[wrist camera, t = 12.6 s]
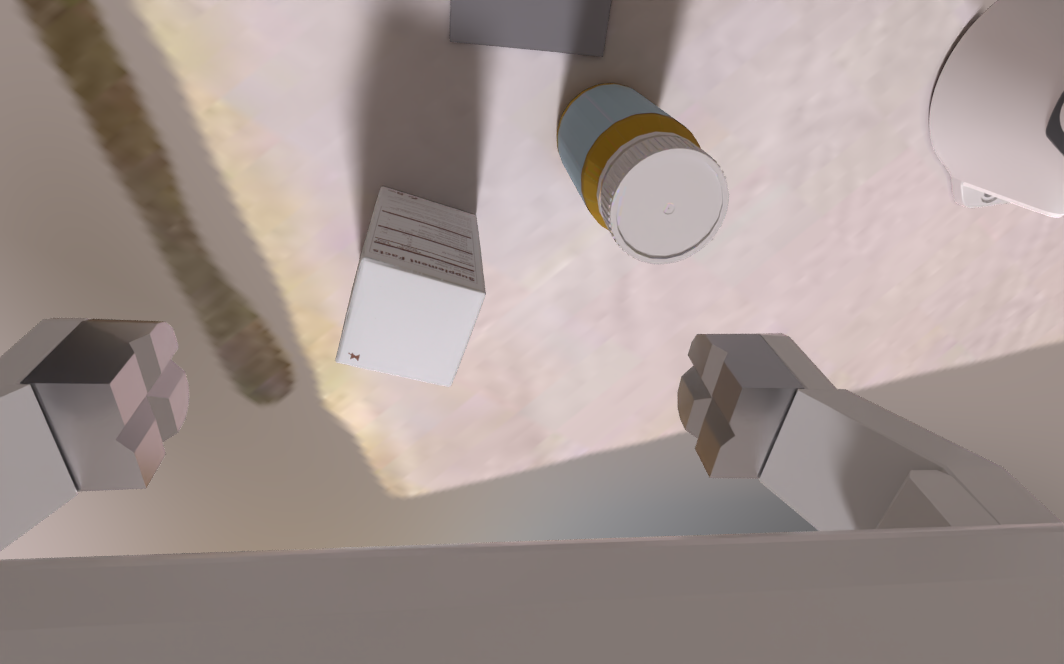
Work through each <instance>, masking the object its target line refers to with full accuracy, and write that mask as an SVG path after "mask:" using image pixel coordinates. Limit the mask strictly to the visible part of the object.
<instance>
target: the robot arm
mask: <svg viewBox="0 0 1064 664" xmlns="http://www.w3.org/2000/svg"><path fill="white" fill-rule="evenodd" d="M929 131H930V138H931V142H932V146H933V148H934V151H935V153H936V155H937V157H938V158H939V160H940V161H941V162H942V164H943V165H944V166H945V167H946V169H947V170H948V172H949V174H950V176H951V185H952V194H953V198H954V201H955V202H956V203H957V204H958V205H961V206H964V207H967V208H979V207H986V206H993V205H1000V204H1007V203H1013V204H1016V205H1018V206H1021V207H1024V208H1026V209H1029V210H1032V211H1035V212H1038V213H1040V214H1043V215H1046V216H1050V217H1055V218H1060V217H1062V216H1063V215H1064V0H997V1H996V2H995V3H994V4H993V5H991V6H990V7H989V8H988V9H987V10H986V11H985V12H984V13H983V14H982V15H981V16H980V17H979V18H978V19H977V20H976V21H975V22H974V23H973V25H972V26H971V27H970V28H969V29H968V30H967V32H966V33H965V34H964V36H963V37H962V38H961V40H960V41H959V42H958V44H957V45H956V47H955V48H954V50H953V52H952V53H951V55H950V57H949V58H948V60H947V62H946V64H945V66H944V68H943V70H942V72H941V74H940V77H939V79H938V82H937V85H936V87H935V90H934V94H933V98H932V102H931V108H930V116H929ZM178 348H179V346H178V343H177V339H176V336H175V333H174V329H173V328H172V327H171V326H170V325H169V324H168V323H167V322H163V321H138V320H137V321H136V320H113V319H87V318H50V319H43V320H42V321H40V322H39V323H38V324H37V325H36V326H35V327H34V328H33V329H32V330H30V331H29V332H28V333H27V334H26V335H25V336H24V337H22V338H21V339H20V340H19V341H18V342H17V343H16V344H14V346H12V347H11V348H10V349H9V350H8V351H7V352H5V353H4V354H3V355H2V356H1V357H0V551H2V550H3V549H4V548H6V547H7V546H8V545H10V544H11V543H12V542H14V541H15V540H17V539H18V538H19V537H21V536H22V535H23V534H25V533H26V532H28V531H29V530H30V529H32V528H33V527H34V526H36V525H37V524H38V523H40V522H41V521H43V520H44V519H45V518H47V517H48V516H49V515H51V514H52V513H54V512H55V511H56V510H58V509H59V508H60V507H62V506H63V505H64V504H66V503H67V502H69V501H70V500H71V499H73V498H74V497H75V496H77V495H78V493H77V491H99V490H123V489H143V488H144V489H146V488H147V486H148V485H149V483H150V481H151V479H152V478H153V476H154V474H155V473H156V471H157V469H158V467H159V466H160V464H161V462H162V460H163V459H164V457H165V455H166V452H165V449H164V445H163V442H164V441H165V440H167V439H168V438H170V437H172V436H173V435H175V434H177V433H178V432H179V430H180V428H181V426H182V425H183V423H184V421H185V419H186V414H187V409H188V404H189V385H188V381H187V376H186V372H185V371H184V370H183V369H182V368H181V367H179V366H178V365H177V364H176V363H175V362H174V361H172V360H171V358H172V357H173V355H174V353H175V352H176V351H177V349H178ZM688 356H689V358H690V360H691V362H692V364H693V367H691V368H690V369H689V370H688V371H687V372H686V373H685V374H684V375H683V376H682V377H681V381H680V385H679V389H678V412H679V416H680V420H681V422H682V424H683V426H684V428H685V430H686V431H688V432H689V433H691V434H692V435H694V436H695V437H696V438H698V440H697V443H696V446H695V450H696V452H697V454H698V456H699V458H700V460H701V462H702V464H703V466H704V468H705V470H706V472H707V474H708V475H709V477H710V478H760V479H759V481H760V482H761V483H762V484H763V485H765V486H766V487H767V488H768V489H769V490H771V491H772V492H773V493H774V494H775V495H777V496H778V497H779V498H781V500H783V501H784V502H785V503H786V504H788V505H789V506H790V507H791V508H792V509H793V510H795V511H796V512H797V513H798V514H800V515H801V516H802V517H803V518H804V519H805V520H807V521H808V522H809V523H810V524H812V525H813V526H814V527H815V528H816V529H817V530H819V531H811V532H783V533H752V534H723V535H693V536H665V537H664V536H663V537H635V538H605V539H574V540H547V541H520V542H519V541H517V542H492V543H491V542H490V543H465V544H436V545H408V546H381V547H352V548H327V549H299V550H268V551H240V552H210V553H182V554H154V555H153V554H152V555H123V556H94V557H66V558H36V559H8V560H0V664H1064V522H1062V521H1061V520H1060V519H1059V518H1058V517H1057V516H1056V515H1055V514H1053V513H1052V512H1051V511H1050V510H1049V509H1048V508H1047V507H1046V506H1045V505H1043V503H1042V502H1040V501H1039V500H1038V499H1037V498H1036V497H1035V496H1034V495H1033V494H1032V493H1031V492H1030V491H1028V490H1027V489H1026V488H1025V487H1024V486H1023V485H1022V484H1021V483H1020V482H1019V481H1018V480H1017V479H1016V478H1014V477H1013V476H1012V475H1011V474H1010V473H1009V472H1008V471H1007V470H1006V469H1005V468H1003V467H1002V466H1000V465H998V464H996V463H994V462H992V461H990V460H988V459H986V458H984V457H982V456H980V455H978V454H976V453H973V452H972V451H969V450H968V449H965V448H963V447H961V446H959V445H957V444H955V443H953V442H951V441H949V440H947V439H945V438H943V437H941V436H939V435H937V434H935V433H933V432H931V431H929V430H927V429H925V428H923V427H921V426H919V425H917V424H915V423H913V422H911V421H909V420H907V419H905V418H903V417H901V416H898V415H897V414H895V413H893V412H891V411H889V410H886V409H884V408H882V407H880V406H878V405H876V404H874V403H872V402H870V401H868V400H866V399H864V398H862V397H860V396H858V395H856V394H854V393H852V392H850V391H848V390H846V389H836V387H835V386H834V385H833V384H832V383H831V382H830V381H829V380H828V379H827V377H826V376H825V375H824V374H823V373H822V372H821V371H820V370H819V369H818V368H817V366H816V365H815V364H814V363H813V362H812V361H811V360H810V359H809V358H808V357H807V355H806V354H805V353H804V352H803V351H802V350H801V349H800V348H799V347H798V346H797V344H796V343H795V342H794V341H793V340H792V339H791V338H790V337H789V336H787V335H784V334H782V333H768V334H697V335H696V337H695V338H694V340H693V341H692V343H691V346H690V350H689V353H688Z"/></svg>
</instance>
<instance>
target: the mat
mask: <svg viewBox="0 0 1064 664" xmlns="http://www.w3.org/2000/svg"><path fill="white" fill-rule="evenodd" d="M610 6H611V0H451V14H450V42H459V43H469V44H479V45H489V46H499V47H510V48H520V49H530V50H540V51H550V52H560V53H570V54H581V55H591V56H601V57H603V52H604V46H605V39H606V33H607V26H608V19H609V13H610Z"/></svg>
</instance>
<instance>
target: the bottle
mask: <svg viewBox="0 0 1064 664" xmlns="http://www.w3.org/2000/svg"><path fill="white" fill-rule="evenodd" d="M557 148H558V152H559V155H560V157H561V160H562V163H563V165H564V167H565V168H566V170H567V172H568V174H569V176H570V177H571V179H572V181H573V183H574V185H575V187H576V188H577V190H578V192H579V194H580V196H581V197H582V199H583V201H584V203H585V205H586V207H587V208H588V210H589V211H590V213H591V214H592V216H593V217H594V218H595V219H596V220H597V222H598V223H599V224H600V225H601V226H602V227H604V228H606V229H607V230H609V231H610V233H611V235H612V236H613V238H614V240H615V242H616V243H617V244H618V245H619V247H620V248H622V250H623V251H624V252H626V253H627V254H628V255H630V256H632V257H633V258H635V259H637V260H639V261H642V262H645V263H650V264H669V263H674V262H678V261H681V260H683V259H686V258H688V257H690V256H692V255H693V254H695V253H697V252H698V251H700V250H701V249H702V248H703V247H704V246H706V245H707V244H708V243H709V242H710V241H711V239H712V238H713V237H714V236H715V235H716V233H717V232H718V230H719V228H720V227H721V225H722V223H723V221H724V218H725V215H726V212H727V208H728V201H729V191H728V185H727V181H726V178H725V176H724V174H723V171H722V170H721V169H720V166H719V165H718V164H717V162H716V161H715V160H714V159H712V157H711V156H709V155H708V154H707V153H706V152H704V151H703V150H702V149H701V148H700V145H699V144H698V142H697V140H696V139H695V137H694V136H693V134H692V133H691V132H690V131H689V130H688V129H687V128H686V127H685V126H683V125H682V124H681V123H679V122H678V121H677V120H675V119H674V118H672V117H671V116H670V115H668V114H667V113H665V112H664V111H663V110H661V109H660V108H659V107H657V106H656V105H654V104H653V103H652V102H650V101H649V100H647V99H646V98H645V97H643V96H642V95H640V94H639V93H638V92H636V91H635V90H634V89H631V88H630V87H627V86H624V85H620V84H617V83H606V84H598V85H595V86H593V87H590V88H588V89H586V90H584V91H582V92H581V93H580V94H579V95H577V96H576V97H575V98H574V99H573V100H572V101H571V102H570V103H569V104H568V106H567V108H566V109H565V111H564V112H563V114H562V116H561V118H560V122H559V126H558V129H557Z"/></svg>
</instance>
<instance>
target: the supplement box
mask: <svg viewBox="0 0 1064 664" xmlns="http://www.w3.org/2000/svg"><path fill="white" fill-rule="evenodd" d="M485 295H486V292H485V283H484V275H483V266H482V257H481V248H480V240H479V232H478V225H477V217H476V215H474V214H470V213H467V212H464V211H461V210H458V209H454V208H451V207H448V206H445V205H442V204H438V203H436V202H432V201H429V200H426V199H423V198H420V197H417V196H413V195H410V194H407V193H404V192H400V191H397V190H394V189H391V188H388V187H384V186H382V187H381V188H380V191H379V195H378V198H377V201H376V204H375V207H374V211H373V214H372V218H371V221H370V225H369V229H368V232H367V236H366V239H365V243H364V246H363V249H362V253H361V257H360V260H359V264H358V267H357V271H356V275H355V279H354V283H353V287H352V291H351V295H350V300H349V304H348V308H347V313H346V317H345V321H344V326H343V330H342V335H341V339H340V343H339V347H338V351H337V356H336V360H335V361H336V362H337V363H341V364H346V365H350V366H355V367H359V368H363V369H368V370H372V371H377V372H382V373H386V374H390V375H395V376H400V377H404V378H409V379H413V380H418V381H423V382H427V383H432V384H436V385H441V386H447V387H450V386H451V385H452V383H453V380H454V378H455V376H456V373H457V370H458V368H459V365H460V363H461V360H462V357H463V355H464V352H465V349H466V347H467V344H468V342H469V339H470V336H471V333H472V331H473V328H474V325H475V323H476V320H477V317H478V315H479V312H480V309H481V306H482V304H483V301H484V298H485Z"/></svg>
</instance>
